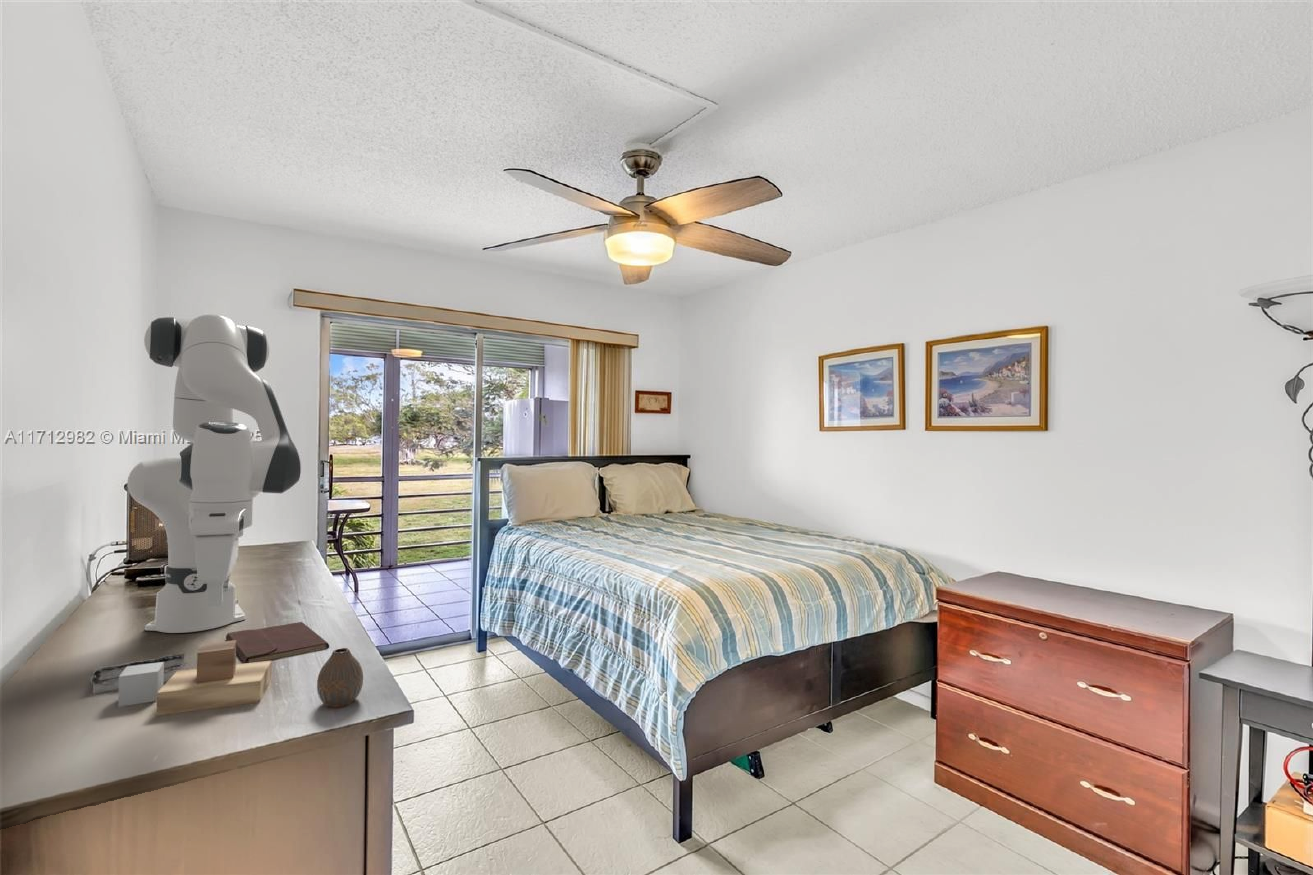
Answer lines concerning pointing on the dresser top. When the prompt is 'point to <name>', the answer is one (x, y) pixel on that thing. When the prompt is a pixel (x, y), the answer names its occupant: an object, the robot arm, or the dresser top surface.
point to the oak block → (214, 689)
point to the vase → (340, 679)
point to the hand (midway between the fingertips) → (219, 597)
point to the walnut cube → (216, 661)
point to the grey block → (140, 683)
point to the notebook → (275, 642)
